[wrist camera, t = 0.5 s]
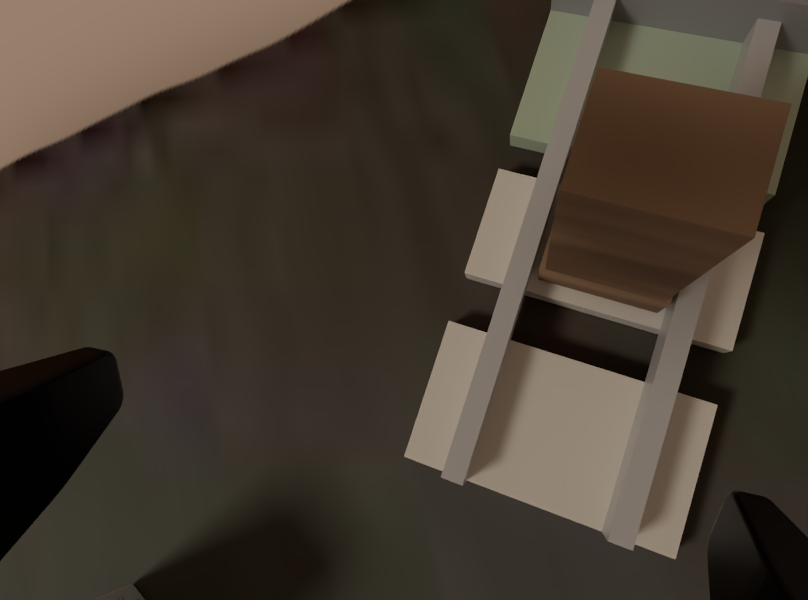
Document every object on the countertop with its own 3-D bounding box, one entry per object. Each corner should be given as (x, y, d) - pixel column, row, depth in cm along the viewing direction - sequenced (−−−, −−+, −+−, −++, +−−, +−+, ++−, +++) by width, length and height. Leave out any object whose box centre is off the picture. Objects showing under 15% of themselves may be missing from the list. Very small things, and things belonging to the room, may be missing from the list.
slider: (657, 313, 21) (765, 240, 12) (537, 279, 22) (550, 187, 13) (686, 211, 22) (814, 62, 12) (568, 182, 23) (601, 25, 13)
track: (668, 552, 21) (696, 580, 17) (409, 454, 23) (389, 462, 20) (806, 51, 23) (855, -10, 20) (555, 8, 25) (560, -52, 22)
